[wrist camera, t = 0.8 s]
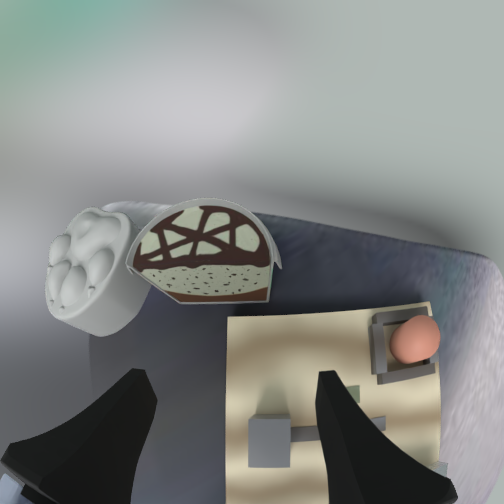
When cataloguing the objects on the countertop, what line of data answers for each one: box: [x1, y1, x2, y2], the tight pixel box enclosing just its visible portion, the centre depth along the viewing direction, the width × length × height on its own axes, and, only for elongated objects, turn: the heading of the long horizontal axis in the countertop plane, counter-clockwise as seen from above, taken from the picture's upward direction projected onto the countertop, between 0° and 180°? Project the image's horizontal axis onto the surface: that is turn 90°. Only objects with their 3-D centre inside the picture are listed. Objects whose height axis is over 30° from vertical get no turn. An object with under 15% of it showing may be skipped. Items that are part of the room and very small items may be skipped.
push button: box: [389, 315, 440, 364], centre depth 19 cm, size 4×4×3 cm
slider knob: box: [248, 414, 291, 468], centre depth 18 cm, size 4×3×4 cm
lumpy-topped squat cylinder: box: [45, 207, 152, 336], centre depth 27 cm, size 10×13×9 cm
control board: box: [226, 301, 441, 504], centre depth 19 cm, size 22×20×4 cm
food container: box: [125, 198, 282, 304], centre depth 25 cm, size 12×6×10 cm, turn 90°
